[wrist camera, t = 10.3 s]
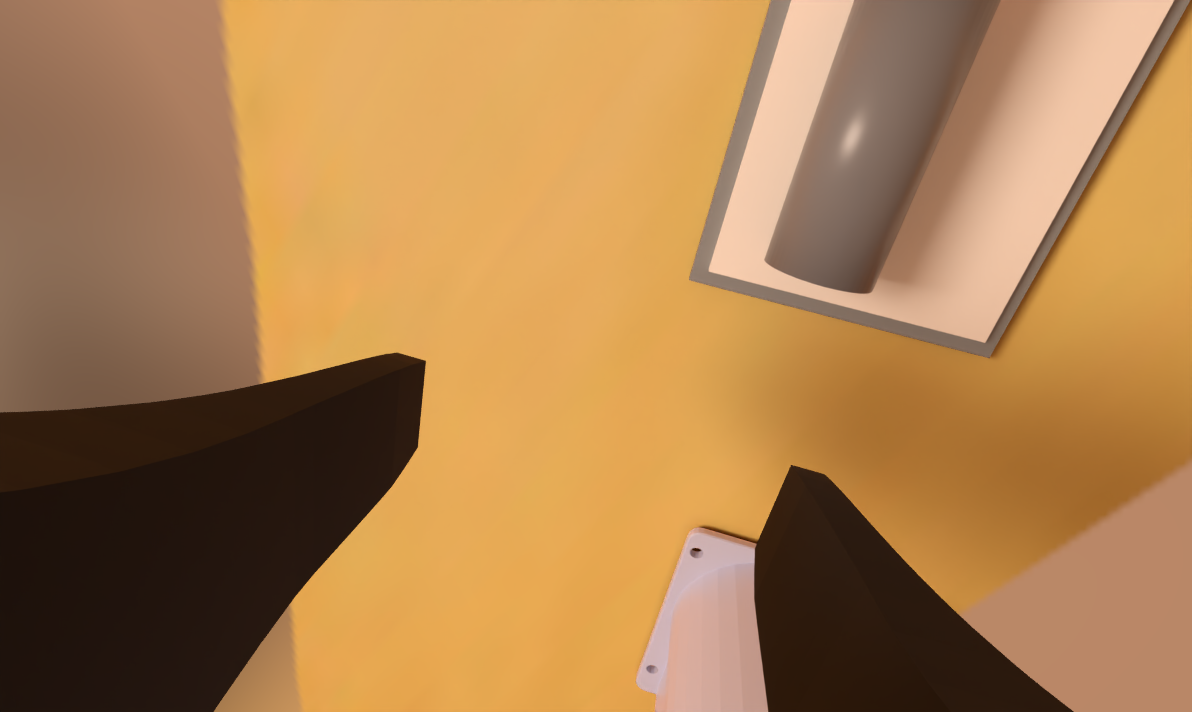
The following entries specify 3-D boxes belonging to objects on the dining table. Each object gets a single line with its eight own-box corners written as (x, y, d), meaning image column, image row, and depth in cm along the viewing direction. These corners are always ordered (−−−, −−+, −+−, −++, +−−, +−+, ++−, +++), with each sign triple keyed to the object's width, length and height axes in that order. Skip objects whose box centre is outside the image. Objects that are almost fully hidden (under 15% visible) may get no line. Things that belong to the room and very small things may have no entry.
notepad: (983, 353, 18) (993, 361, 17) (689, 277, 18) (688, 282, 18) (1271, -166, 12) (1302, -182, 12) (841, -242, 13) (848, -260, 13)
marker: (896, 297, 15) (814, 289, 14) (819, 261, 17) (743, 252, 16) (1115, -177, 11) (1027, -251, 10) (975, -138, 13) (889, -192, 12)
